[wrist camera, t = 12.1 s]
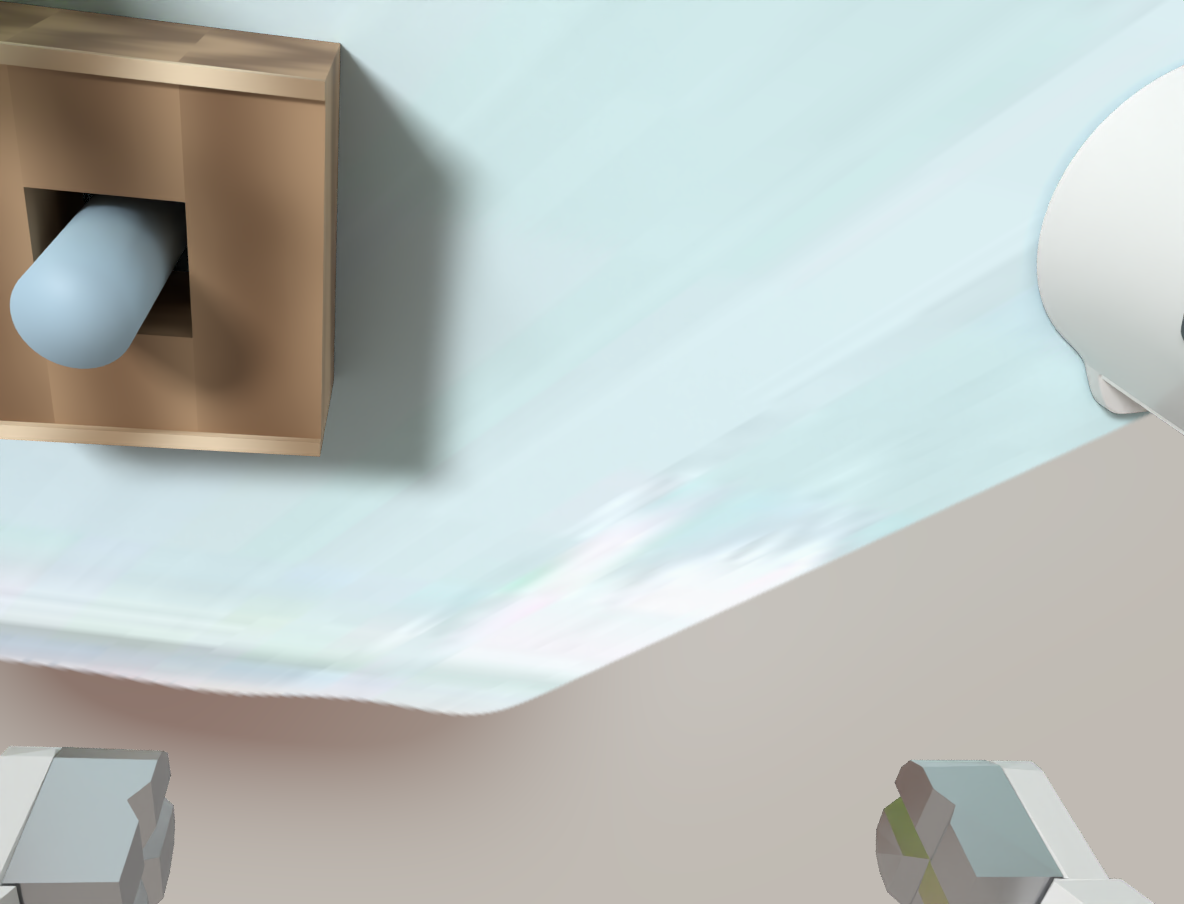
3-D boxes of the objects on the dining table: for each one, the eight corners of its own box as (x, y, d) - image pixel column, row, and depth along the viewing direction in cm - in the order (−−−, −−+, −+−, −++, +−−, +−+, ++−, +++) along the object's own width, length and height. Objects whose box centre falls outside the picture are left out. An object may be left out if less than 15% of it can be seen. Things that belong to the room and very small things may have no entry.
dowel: (194, 170, 40) (130, 267, 32) (199, 258, 42) (139, 372, 34) (94, 160, 40) (1, 256, 31) (103, 250, 41) (18, 364, 33)
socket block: (340, 43, 39) (324, 81, 33) (333, 380, 46) (320, 456, 40) (-77, -9, 36) (-167, 24, 31) (-16, 356, 43) (-80, 434, 38)
